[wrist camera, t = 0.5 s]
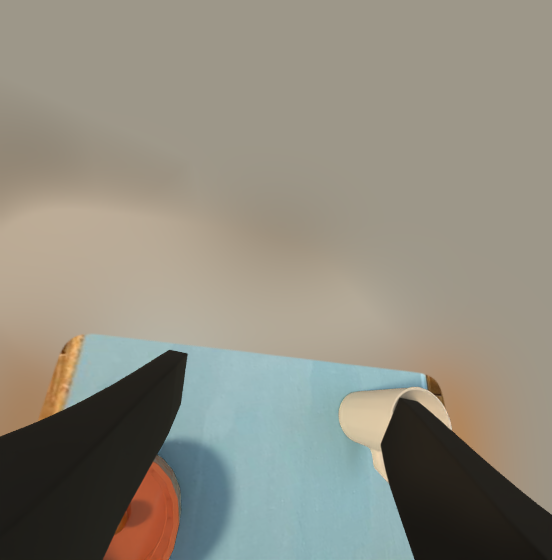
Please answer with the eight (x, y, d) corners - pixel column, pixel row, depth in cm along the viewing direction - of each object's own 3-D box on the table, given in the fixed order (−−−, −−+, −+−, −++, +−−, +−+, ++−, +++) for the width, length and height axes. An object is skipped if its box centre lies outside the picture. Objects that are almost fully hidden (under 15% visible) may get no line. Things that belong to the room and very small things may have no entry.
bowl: (162, 596, 28) (156, 626, 25) (25, 590, 26) (-3, 621, 23) (193, 454, 33) (192, 461, 29) (79, 440, 31) (64, 445, 27)
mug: (334, 389, 39) (385, 387, 28) (378, 388, 41) (443, 386, 30) (341, 477, 36) (403, 513, 25) (390, 473, 37) (468, 505, 26)
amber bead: (125, 531, 29) (119, 541, 27) (102, 529, 29) (94, 539, 27) (133, 504, 30) (128, 511, 28) (110, 502, 29) (103, 509, 27)
